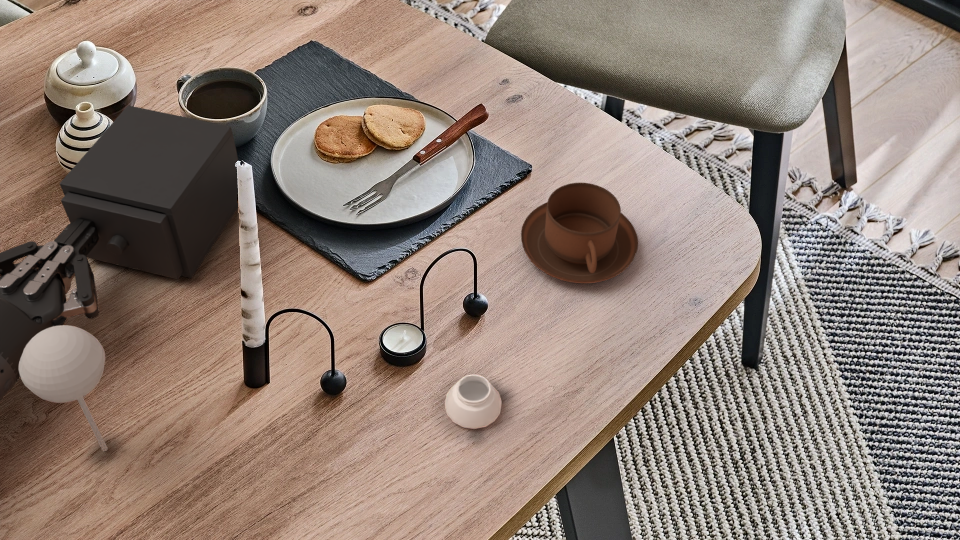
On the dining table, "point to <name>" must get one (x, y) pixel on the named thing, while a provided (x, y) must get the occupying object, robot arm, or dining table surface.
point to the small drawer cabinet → (165, 175)
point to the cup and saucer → (580, 235)
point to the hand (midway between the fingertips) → (89, 225)
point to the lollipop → (64, 367)
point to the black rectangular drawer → (128, 234)
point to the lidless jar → (473, 402)
